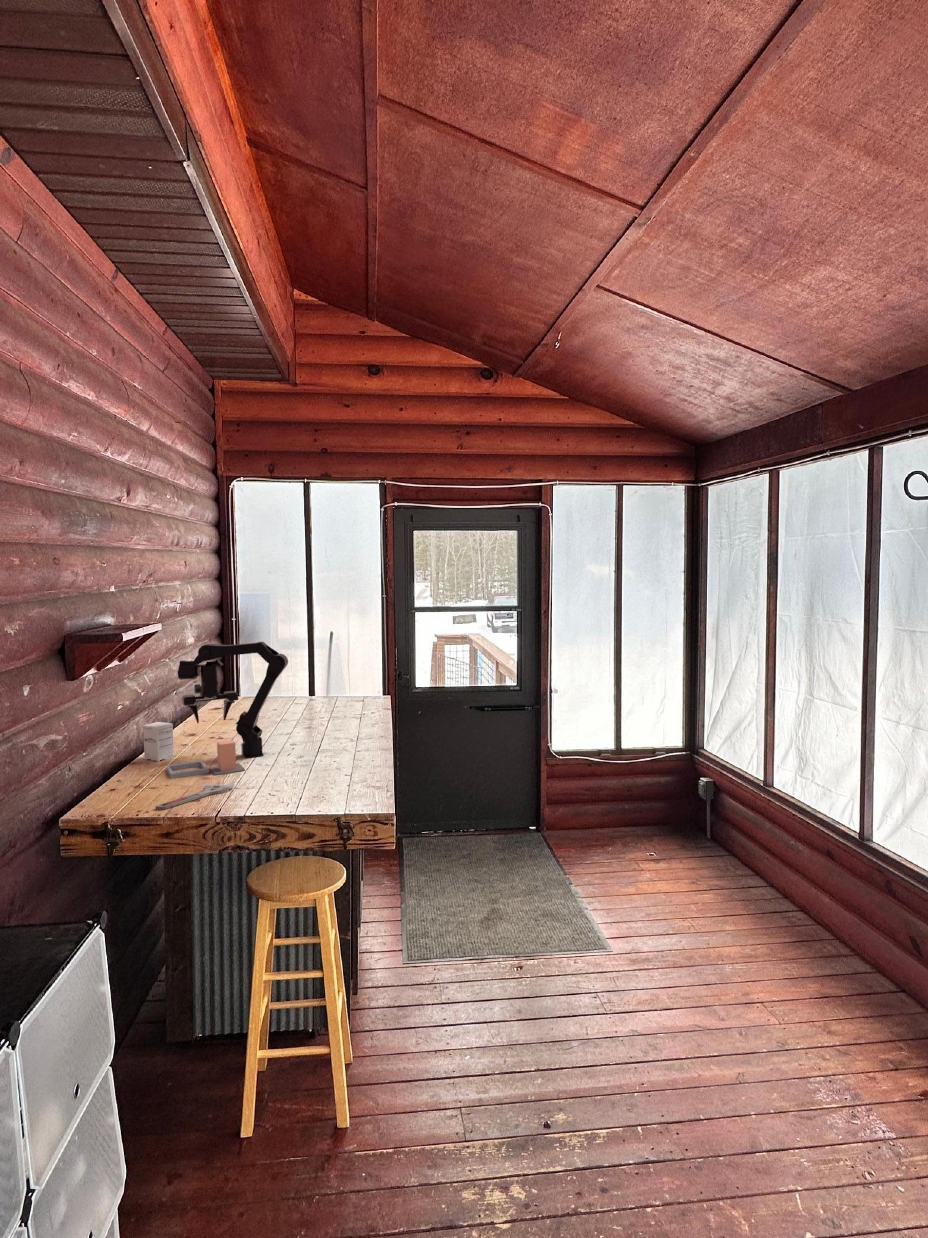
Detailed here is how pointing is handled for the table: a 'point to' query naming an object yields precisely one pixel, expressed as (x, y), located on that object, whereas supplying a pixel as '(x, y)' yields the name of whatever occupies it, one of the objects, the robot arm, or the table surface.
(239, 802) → the table surface
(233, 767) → the block
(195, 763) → the blue-grey square frame
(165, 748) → the supplement box
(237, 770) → the place mat
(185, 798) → the adjustable wrench
